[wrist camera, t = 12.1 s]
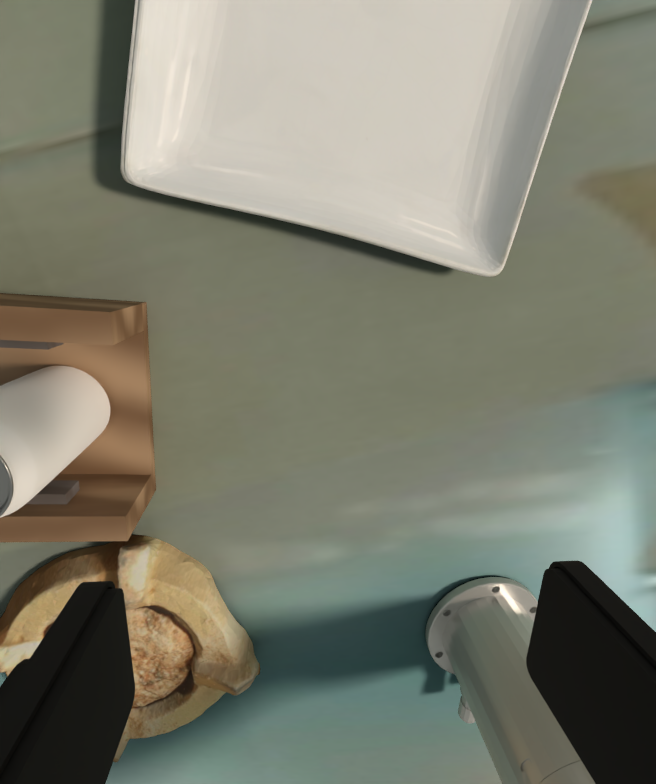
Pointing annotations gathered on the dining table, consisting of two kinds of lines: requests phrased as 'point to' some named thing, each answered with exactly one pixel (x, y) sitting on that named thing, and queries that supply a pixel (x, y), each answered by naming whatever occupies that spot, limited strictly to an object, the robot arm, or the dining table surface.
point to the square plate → (352, 114)
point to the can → (45, 429)
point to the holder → (123, 432)
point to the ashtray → (144, 628)
